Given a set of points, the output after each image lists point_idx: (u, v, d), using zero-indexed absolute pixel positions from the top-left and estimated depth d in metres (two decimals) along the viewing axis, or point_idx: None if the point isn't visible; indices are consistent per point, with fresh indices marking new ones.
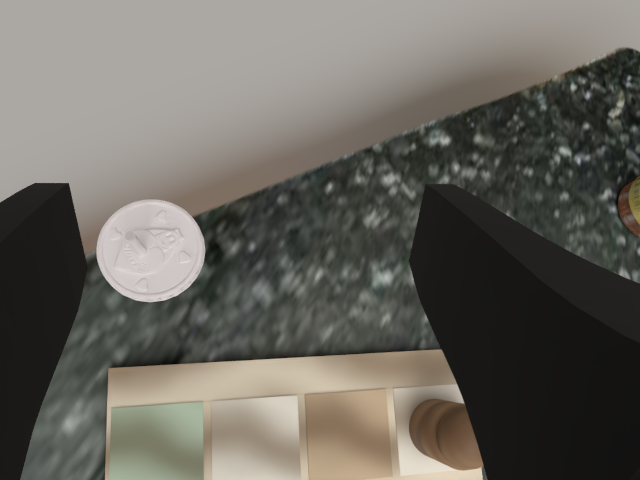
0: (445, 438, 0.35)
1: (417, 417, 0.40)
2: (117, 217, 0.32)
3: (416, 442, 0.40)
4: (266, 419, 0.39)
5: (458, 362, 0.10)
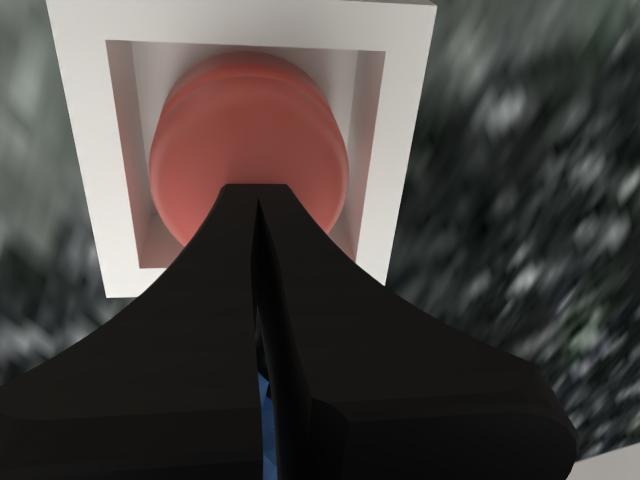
0: None
1: None
2: None
3: None
4: None
5: (270, 372, 0.09)
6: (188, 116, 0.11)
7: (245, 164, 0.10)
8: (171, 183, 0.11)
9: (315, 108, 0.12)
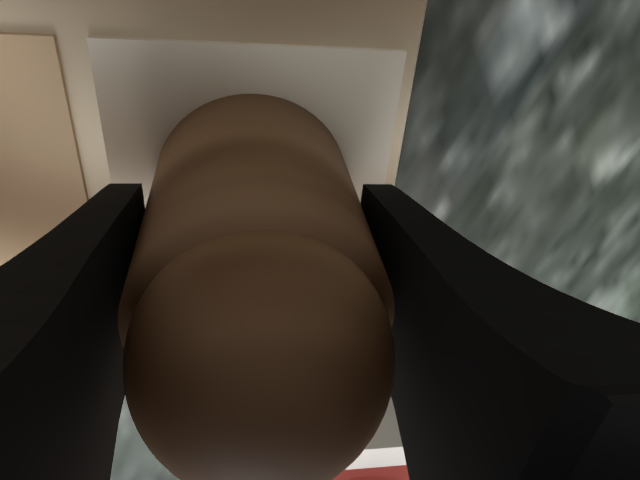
0: (127, 395, 0.07)
1: (158, 169, 0.10)
2: None
3: None
4: None
5: None
6: None
7: None
8: None
9: None
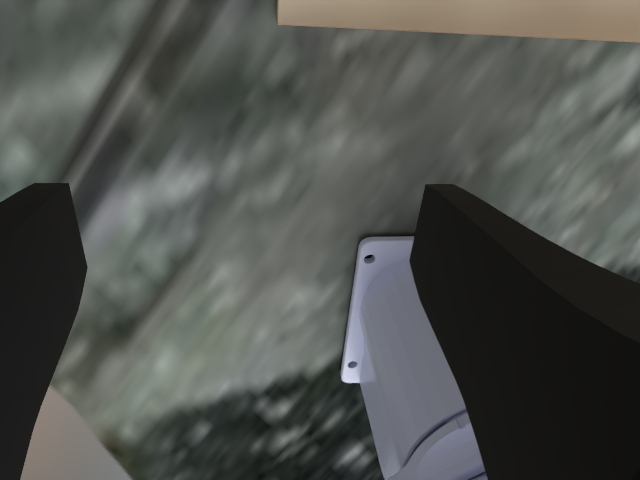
0: None
1: None
2: None
3: None
4: None
5: (458, 362, 0.10)
6: None
7: None
8: None
9: None
